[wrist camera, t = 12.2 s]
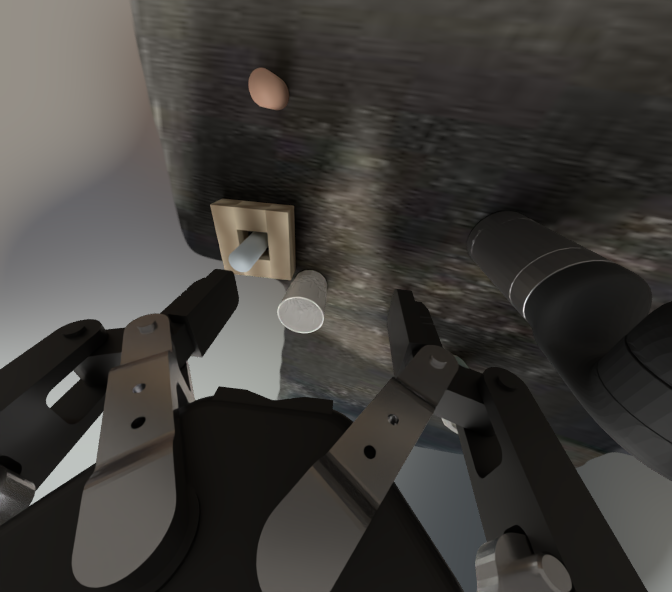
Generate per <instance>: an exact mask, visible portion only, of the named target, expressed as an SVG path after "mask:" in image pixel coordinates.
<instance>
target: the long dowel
mask: <svg viewBox="0 0 672 592" xmlns="http://www.w3.org/2000/svg"><path fill="white" fill-rule="evenodd" d="M268 246H269V245H268V235H267V233H266V232H256V231H254V232H253V233H252V234H251V235H250V236H249V237H248V238H247V239H245V240H244V241H243V242H242V243H241V244H240V245H239V246H238V247H237V248H236V249H235V250H234V251H233V252H232V253H231V254H230V255H229V263H230V265H231V266H232V267H233V268H234V269H235V270H237V271H239V272H247V271H249V270H250V269H251V268H252V266H253V265H254V264H255V263H256V261H257V260H258V259H259V258H260V256H261V255H262V254H263V253H264V251H265V250H266V249H267V247H268Z"/></svg>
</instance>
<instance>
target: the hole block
mask: <svg viewBox="0 0 672 592" xmlns="http://www.w3.org/2000/svg"><path fill="white" fill-rule="evenodd" d="M210 206H211V210H212V215H213V219H214V224H215V228H216V233H217V237H218V242H219V246H220V251H221V255H222V260H223V264H224V269H225V270H231V271H233V273H234V274H239V275H248V276H257V277H266V278H275V279H284V280H291V279H292V276H293V274H294V272H295V270H296V262H295V224H294V206H291V205H281V204H271V203H261V202H252V201H242V200H232V199H221V200H219V201H217V202H215V203H213V204H211V205H210ZM248 231H256V232H266V233H267V235H268V245H269V250H265V251H264V253H263V254H262V255H261V256H260V258H259V259H258V260H257V261H256V263H255V264H254V265H253V266H252V268H251V269H250V270H249V271H247V272H239V271H237V270H235V269H234V268H233V267H232V266H231V265H230V263H229V255H230V254H231V253H232V252H233V251H234V250H235V249H236V248H237V247H238V246H239V245H240V244H241V243H242V242H243V241H244V240H245V239H247V238H248V237H249V236H248Z"/></svg>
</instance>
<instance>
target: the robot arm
mask: <svg viewBox="0 0 672 592" xmlns="http://www.w3.org/2000/svg"><path fill="white" fill-rule="evenodd" d="M467 250H468V253H469V255H470V257H471V258H472V259H473V260H474V261H475V263H476V264H477V265H478V266H479V267H480V269H481V270H482V271H483V272H484V273H485V274H486V275H487V276H488V278H489V279H490V280H491V281H492V282H493V283H494V284H495V286H496V287H497V288H498V289H499V290H500V291H501V292H502V294H503V295H504V296H505V297H506V298H507V299H508V300H509V302H510V303H511V304H512V305H513V306H514V307H515V308H516V309H517V311H518V312H519V313H520V314H521V315H522V316H523V317H524V319H525V320H526V321H527V322H528V323H529V324H530V325H531V327H532V330H533V335H534V338H535V341H536V343H537V344H538V346H539V348H540V349H541V350H542V352H543V353H544V354H545V356H546V357H547V358H548V360H549V361H550V362H551V364H552V365H553V367H554V368H555V369H556V371H557V372H558V373H559V375H560V376H561V378H562V379H563V380H564V382H565V383H566V384H567V386H568V387H569V389H570V390H571V391H572V393H573V394H574V395H575V397H576V398H577V399H578V401H579V402H580V403H581V404H582V406H583V407H584V408H585V410H586V411H587V412H588V413H589V414H590V415H591V416H592V418H593V419H594V420H595V421H596V422H597V423H598V425H599V426H600V427H601V428H602V429H603V430H604V431H605V432H606V433H607V434H608V435H610V436H611V437H612V438H613V439H614V440H615V441H616V442H617V443H618V444H619V445H620V446H621V447H623V448H624V449H625V450H626V451H627V452H629V453H630V454H631V455H633V456H634V457H635V458H636V459H638V460H639V461H640V462H642V463H643V464H645V465H646V466H647V467H649V468H651V469H652V470H654V471H655V472H657V473H659V474H660V475H662V476H664V477H665V478H667V479H669V480H671V481H672V301H671V302H669V303H666V304H664V305H662V306H660V307H659V308H657V309H656V310H654V311H653V312H652V313H650V314H649V315H648V313H649V310H650V307H651V303H652V293H651V289H650V287H649V286H648V284H647V283H646V282H645V280H644V279H642V278H641V277H640V276H639V275H637V274H635V273H634V272H632V271H630V270H628V269H626V268H624V267H622V266H620V265H618V264H616V263H614V262H612V261H610V260H608V259H606V258H604V257H602V256H600V255H598V254H596V253H595V252H593V251H591V250H588V249H587V248H585V247H583V246H581V245H579V244H577V243H575V242H573V241H571V240H569V239H567V238H565V237H564V236H562V235H560V234H558V233H556V232H554V231H552V230H550V229H548V228H546V227H544V226H542V225H541V224H539V223H537V222H535V221H533V220H531V219H529V218H527V217H525V216H524V215H522V214H520V213H517V212H514V211H501V212H497V213H494V214H492V215H490V216H488V217H486V218H485V219H483V220H482V221H480V222H479V223H478V224H477V225H476V226H475V228H474V229H473V230H472V232H471V233H470V235H469V238H468V241H467ZM238 302H239V296H238V291H237V286H236V281H235V276H234V273H233V271H231V270H221V269H215V270H213V271H212V272H211V273H210V274H209V275H208V276H207V277H206V278H202V279H200V280H198V281H196V282H194V283H193V284H192V285H191V286H190V287H188V288H187V290H185V291H184V292H183V293H182V294H181V296H179V297H177V299H175V300H174V301H173V302H172V303H171V304H170V305H169V306H168V307H167V308H165V310H163V311H162V312H161V313H160V314H148V315H145V316H141V317H139V318H137V319H135V320H133V321H132V322H130V323H129V324H128V325H127V326H126V327H125V328H117V329H108V330H105V329H104V327H103V326H102V324H101V323H100V322H99V321H97V320H93V319H87V320H80V321H76V322H73V323H70V324H67V325H65V326H63V327H61V328H59V329H57V330H56V331H54V332H53V333H52V334H50V335H49V336H47V337H46V338H44V339H43V340H42V341H40V342H39V343H37V344H36V345H34V346H33V347H32V348H30V349H29V350H27V351H26V352H24V353H23V354H22V355H20V356H19V357H18V358H16V359H14V360H13V361H12V362H10V363H9V364H7V365H6V366H4V367H3V368H2V369H0V592H464V591H463V589H462V587H461V585H460V584H459V582H458V580H457V579H456V577H455V576H454V574H453V573H452V571H451V569H450V568H449V566H448V565H447V563H446V562H445V560H444V559H443V557H442V556H441V554H440V552H439V551H438V549H437V548H436V546H435V545H434V543H433V542H432V540H431V538H430V537H429V535H428V534H427V532H426V531H425V529H424V527H423V526H422V524H421V523H420V521H419V520H418V518H417V517H416V515H415V514H414V512H413V510H412V509H411V507H410V506H409V504H408V503H407V501H406V500H405V498H404V497H403V495H402V494H401V492H400V490H399V489H398V487H397V486H396V484H395V482H394V480H395V478H396V476H397V475H398V472H399V471H400V469H401V467H402V466H403V464H404V463H405V461H406V459H407V457H408V456H409V454H410V452H411V450H412V449H413V447H414V445H415V443H416V442H417V440H418V438H419V437H420V435H421V433H422V431H423V430H424V428H425V426H426V424H427V423H428V421H429V419H430V417H431V416H432V414H434V415H436V416H439V417H441V418H443V419H446V420H448V421H450V422H452V423H455V424H456V428H457V431H458V435H459V439H460V443H461V446H462V450H463V454H464V458H465V461H466V465H467V469H468V473H469V476H470V480H471V484H472V487H473V491H474V495H475V499H476V503H477V506H478V510H479V514H480V518H481V521H482V525H483V529H484V532H485V536H486V540H487V543H485V544H483V545H482V546H481V547H480V548H479V550H478V552H477V555H476V560H475V567H476V575H477V592H648V591H647V590H646V588H645V586H644V585H643V583H642V581H641V579H640V578H639V576H638V574H637V572H636V571H635V569H634V568H633V566H632V564H631V562H630V561H629V559H628V557H627V556H626V554H625V552H624V551H623V549H622V547H621V545H620V544H619V542H618V540H617V538H616V537H615V535H614V533H613V532H612V530H611V528H610V527H609V525H608V523H607V522H606V520H605V519H604V516H603V515H602V513H601V511H600V510H599V508H598V506H597V505H596V503H595V501H594V500H593V498H592V496H591V494H590V493H589V491H588V489H587V488H586V486H585V484H584V483H583V481H582V479H581V477H580V476H579V474H578V473H577V471H576V469H575V467H574V465H573V464H572V462H571V460H570V459H569V457H568V455H567V454H566V452H565V450H564V448H563V447H562V445H561V443H560V442H559V440H558V438H557V437H556V435H555V433H554V431H553V430H552V428H551V426H550V425H549V423H548V421H547V420H546V418H545V416H544V414H543V413H542V411H541V409H540V408H539V406H538V404H537V403H536V401H535V399H534V397H533V396H532V394H531V392H530V391H529V389H528V387H527V386H526V384H525V383H524V382H523V381H522V380H521V379H520V378H519V377H517V376H516V375H515V374H513V373H511V372H510V371H508V370H505V369H502V368H499V367H490V368H487V369H486V370H485V371H484V372H483V374H482V373H479V372H476V371H474V370H471V369H468V368H466V367H463V366H461V365H459V364H458V361H457V359H456V358H455V356H454V355H453V354H452V353H451V352H449V351H448V350H446V349H444V348H443V347H442V344H441V342H440V339H439V336H438V334H437V331H436V329H435V326H434V325H433V321H432V318H431V315H430V313H429V310H428V309H427V308H426V306H425V305H424V304H423V303H422V302H417V301H415V300H414V296H413V293H412V291H410V290H401V289H395V291H394V294H393V298H392V301H391V305H390V309H389V313H388V318H387V327H388V334H389V341H390V348H391V355H392V363H393V370H394V377H392V378H391V379H390V380H389V381H388V382H387V384H386V385H385V386H384V387H383V388H382V389H381V391H380V392H379V393H378V394H377V395H376V396H375V398H374V399H373V400H372V401H371V402H370V404H369V405H368V406H367V407H366V408H365V409H364V411H363V412H362V413H361V414H360V415H359V416H358V418H357V419H356V420H355V421H354V422H352V421H351V420H350V419H349V418H348V417H346V416H345V415H343V414H341V413H340V412H338V411H335V410H333V409H332V408H333V400H326V399H318V398H310V397H300V398H292V399H284V400H270V399H268V398H265V397H263V396H260V395H258V394H256V393H253V392H250V391H248V390H243V389H236V388H227V387H218V389H217V391H216V392H215V394H214V396H209V397H205V398H202V399H198V400H195V398H194V392H193V387H192V381H191V375H190V369H189V364H188V362H187V360H188V359H189V357H190V356H196V357H203V355H204V354H205V352H206V351H207V349H208V348H209V347H210V345H211V344H212V343H213V341H214V340H215V338H216V337H217V335H218V334H219V332H220V331H221V330H222V328H223V327H224V325H225V324H226V322H227V321H228V320H229V318H230V317H231V315H232V314H233V312H234V311H235V310H236V308H237V306H238ZM73 370H74V372H75V373H76V374H77V375H78V376H79V377H80V378H81V379H80V380H79V381H78V382H77V383H76V384H75V385H74V386H73V387H72V388H71V389H70V390H68V391H67V392H66V393H65V394H64V395H63V396H62V397H61V398H60V399H59V400H58V401H57V402H56V403H55V404H54V405H53V406H52V407H51V408H49V407H48V406H47V404H46V397H47V395H48V393H49V392H50V391H51V390H52V389H53V388H54V387H55V386H56V385H57V384H58V383H59V382H61V381H62V379H64V378H65V377H66V376H67V375H68V374H69V373H70V372H72V371H73ZM102 412H103V418H102V425H101V432H100V439H99V446H98V453H97V460H96V463H95V464H93V465H92V466H90V467H89V468H87V469H86V470H84V471H83V472H81V473H79V474H78V475H76V476H75V477H73V478H72V479H70V480H69V481H67V482H66V483H64V484H63V485H61V486H60V487H58V488H57V489H55V490H54V491H52V492H50V493H49V494H47V495H46V496H45V497H43V498H41V499H40V500H38V501H37V502H35V503H34V504H32V505H30V503H31V502H32V500H33V497H34V494H35V491H36V490H37V489H38V488H39V486H40V485H41V484H42V483H43V482H44V481H45V479H46V478H47V477H48V476H49V475H50V473H51V472H52V471H53V470H54V469H55V468H56V466H57V465H58V464H59V463H60V462H61V461H62V459H63V458H64V457H65V456H66V455H67V453H68V452H69V451H70V450H71V449H72V448H73V446H74V445H75V444H76V443H77V442H78V440H79V439H80V438H81V437H82V435H84V433H85V432H86V431H87V430H88V429H89V428H90V426H91V425H92V424H93V423H94V422H95V420H96V419H97V418H98V417H99V416H100V415H101V413H102ZM29 505H30V506H29Z"/></svg>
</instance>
